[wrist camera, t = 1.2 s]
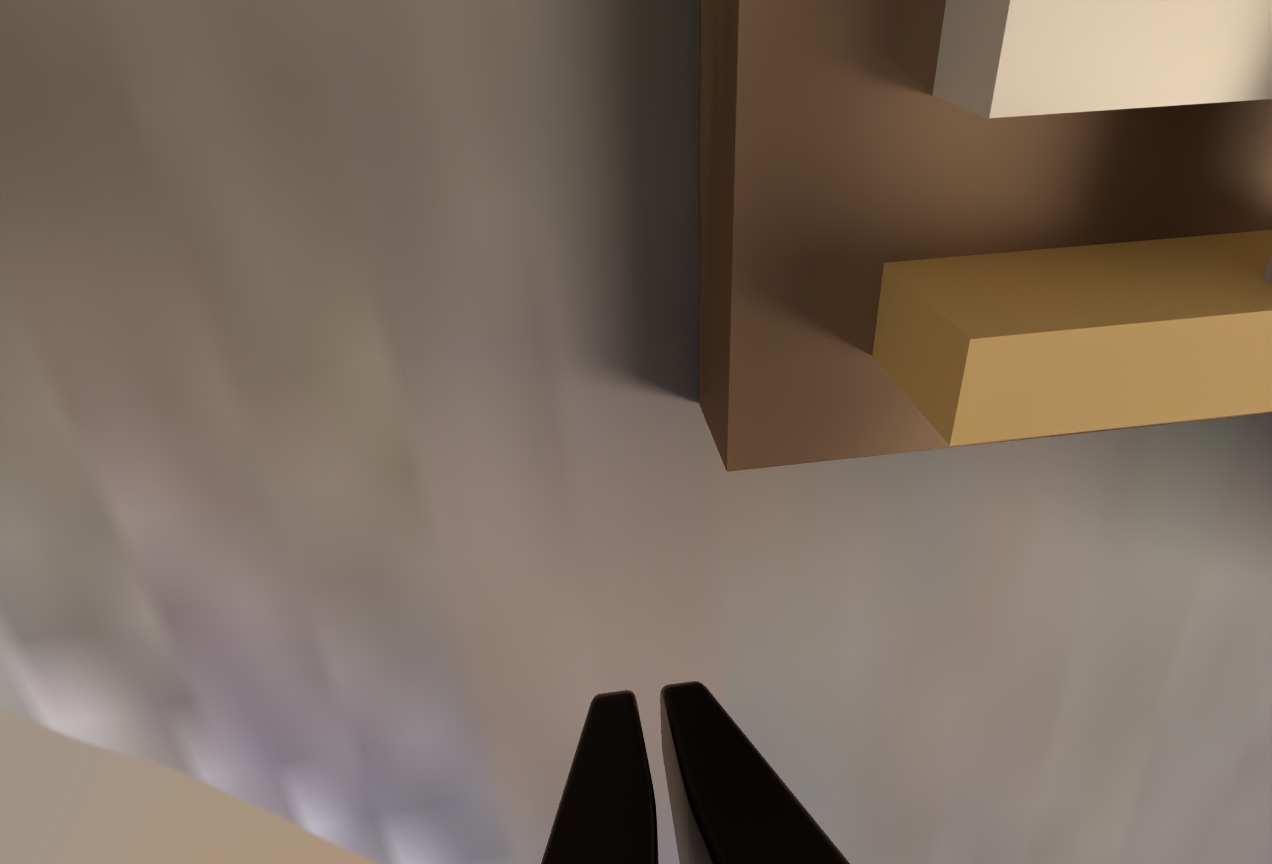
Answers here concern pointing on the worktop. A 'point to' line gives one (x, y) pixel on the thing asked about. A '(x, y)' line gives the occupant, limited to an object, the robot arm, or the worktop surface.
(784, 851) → the robot arm
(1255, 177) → the base box
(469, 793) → the worktop surface
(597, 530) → the worktop surface
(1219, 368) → the tan rectangular block
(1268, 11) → the cover
